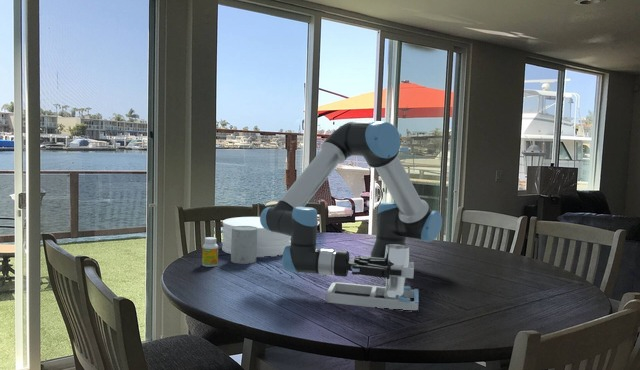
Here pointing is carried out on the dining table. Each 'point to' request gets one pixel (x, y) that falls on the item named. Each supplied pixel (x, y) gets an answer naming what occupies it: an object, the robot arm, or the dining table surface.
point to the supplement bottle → (210, 252)
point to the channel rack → (367, 301)
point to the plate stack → (266, 239)
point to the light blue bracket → (416, 298)
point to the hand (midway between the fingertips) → (413, 270)
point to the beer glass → (397, 258)
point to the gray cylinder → (244, 244)
